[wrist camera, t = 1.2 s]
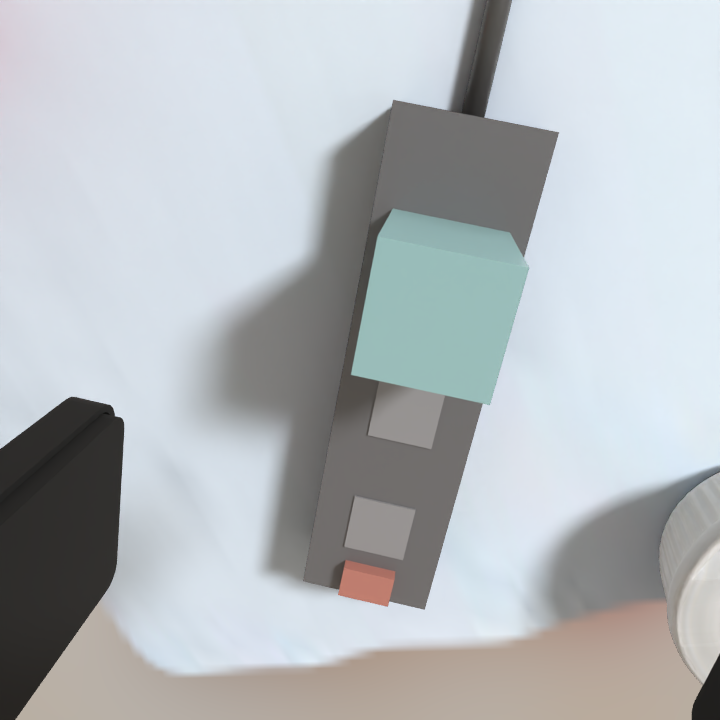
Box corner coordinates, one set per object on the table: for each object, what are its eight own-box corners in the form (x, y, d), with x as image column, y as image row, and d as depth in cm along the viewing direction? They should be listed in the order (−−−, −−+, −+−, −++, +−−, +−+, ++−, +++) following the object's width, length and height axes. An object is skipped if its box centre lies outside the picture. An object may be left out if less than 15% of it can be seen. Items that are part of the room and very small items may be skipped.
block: (396, 202, 26) (377, 236, 19) (505, 223, 26) (529, 267, 19) (375, 305, 28) (350, 374, 21) (477, 327, 28) (489, 405, 20)
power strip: (446, -152, 23) (447, -198, 20) (615, -123, 23) (645, -163, 19) (314, 543, 34) (300, 589, 31) (426, 568, 34) (424, 618, 31)
